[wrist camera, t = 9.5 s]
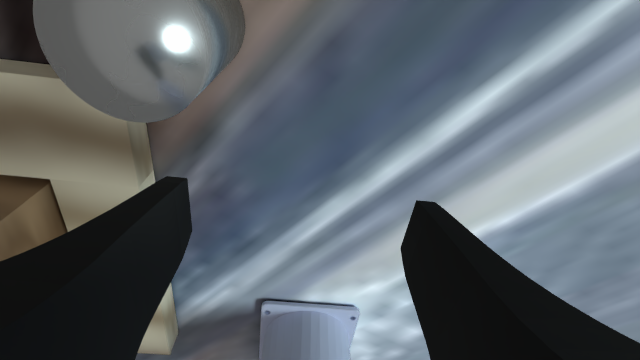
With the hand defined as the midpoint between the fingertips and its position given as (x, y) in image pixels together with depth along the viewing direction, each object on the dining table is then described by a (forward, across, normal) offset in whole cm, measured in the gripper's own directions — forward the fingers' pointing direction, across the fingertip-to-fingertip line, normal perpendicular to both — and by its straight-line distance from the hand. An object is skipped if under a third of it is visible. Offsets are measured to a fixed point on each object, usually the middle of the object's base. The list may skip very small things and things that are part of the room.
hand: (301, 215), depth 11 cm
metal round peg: (+9, +6, -4) cm, 12 cm away
